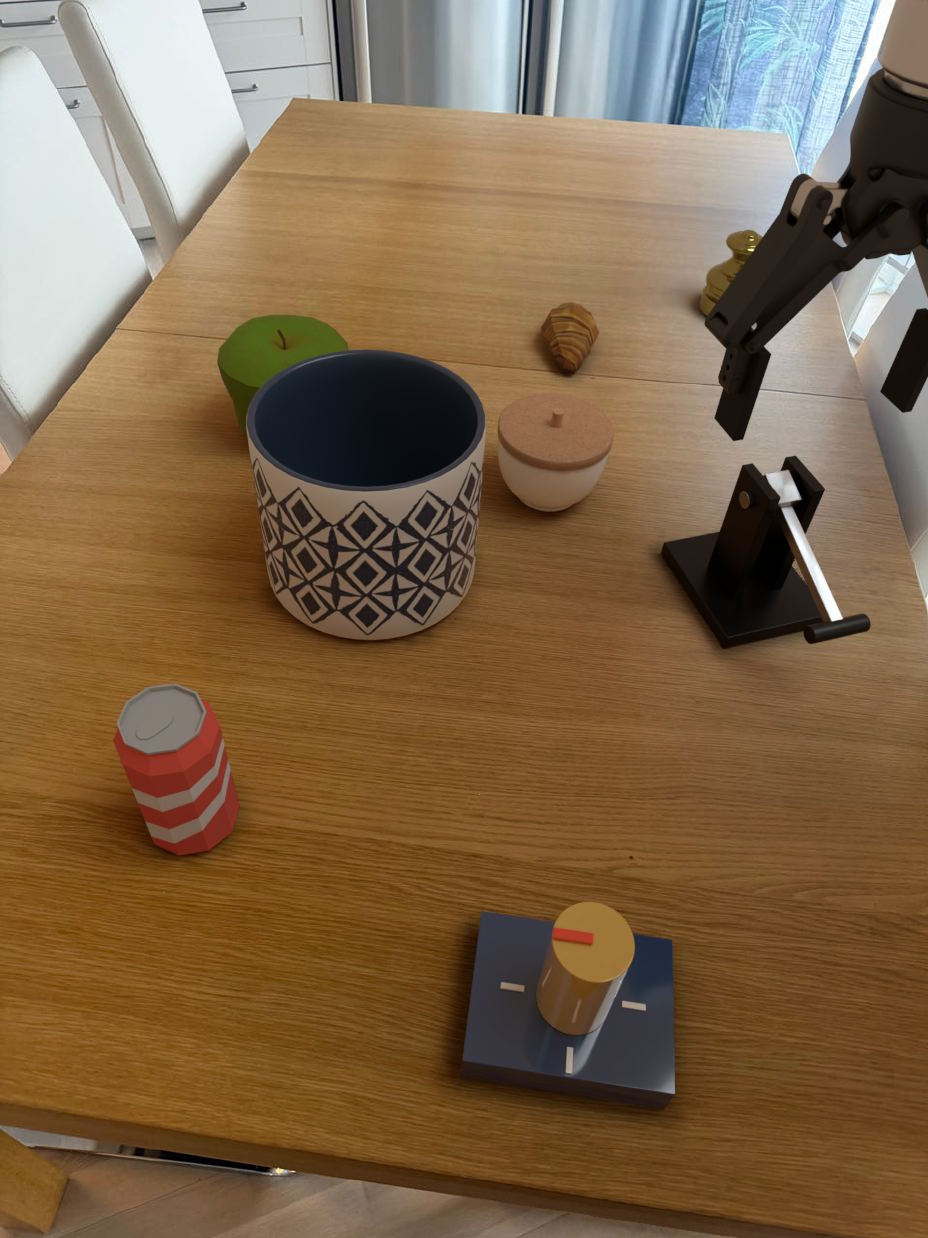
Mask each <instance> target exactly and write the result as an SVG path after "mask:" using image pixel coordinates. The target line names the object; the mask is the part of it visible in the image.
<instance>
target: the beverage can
mask: <svg viewBox="0 0 928 1238" xmlns="http://www.w3.org/2000/svg"><path fill="white" fill-rule="evenodd" d="M116 725H117V728H116V729H117V730H116V731H115V735H114V737H112V738H113V739H112V742H113V744H114V748H115V749H116V752H117V755H118V757H119V759H120V762H121V765H122V767H123V770H124V772H125V774H126V777H127V779H128V782H129V785H130V787H131V789H132V792H133V795H134V797H135V799H136V802H137V805H138V807H139V809H140V812H141V815H142V817H143V819H144V822H145V824H146V827H147V829H148V832H149V834H150V837H151V839H152V842H153V844H154V845H156V847H157V846H158V847H160V848H162V849H164V850H166V851H168V852H170V853H172V854H175V855H177V856H184V855H190V854H196V853H203V852H207V851H208V852H209V851H210V850H212V849H213V848H214V847H215V846H216V845H218V844H219V843H221V841H223V840H224V839H225V838H226V837H228V836H229V835H230V834H231V833H232V832H233V830H234V827H235V825H236V820H237V817H238V814H239V810H240V808H241V805H240V802H239V797H238V793H237V789H236V785H235V780H234V776H233V773H232V769H231V768H232V767H231V764H230V760H229V756H228V752H227V749H226V744H225V741H224V737H223V733H222V728H221V725H220V722H219V720H218V719H217V716H216V715H215V712H214V711H213V708H212V707H211V705H210V702H208V701H206V700H204V699H202V698H201V696H200V695H199V693H198V691H195V690H192V689H190V688H188V687H186V686H183V685H181V684H179V683H176V682H175V683H174V682H173V683H167V684H159V685H152V686H147V687H145V688H144V689H143V690H141V691H140V692H138V693H137V694H135V695H134V696H132V697H131V698H129V699H127V701H125V703H124V706H123V707H122V710H121V712H120V714H119V717H118V719H117V721H116Z"/></svg>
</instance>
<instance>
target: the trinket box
mask: <svg viewBox="0 0 928 1238" xmlns="http://www.w3.org/2000/svg"><path fill="white" fill-rule="evenodd" d="M496 432H497V444H496V445H497V447H496V448H497V449H496V451H497V452H496V453H497V461H498V467H499V472H500V473H501V476H502V479H503V481H504V483H505V484H506V487H508V489H509V490H510V491H511V493H512V494H514V495H515V496H516V497H517V498H518V499H519V500H520V502H522V503H523V504H524V505H526V506H527V507H529V508H532V509H533V510H536V511H542V512H550V513H551V512H559V511H563V510H566V509H569V508H570V507H571V506H573V505H575V504H577V503H579V502H580V501H583V500H584V499H585V498H587V496H589V495H590V494H591V493H592V492H593V490H594V489H595V488H596V486H597V485H598V484H599V482H600V480H601V478H602V476H603V474H604V472H605V469H606V468H607V463H608V461H609V456H610V451H611V449H612V447H613V443H614V439H615V430H614V426H613V423H612V421H611V420H610V418H609V416H607V414H606V412H604V411H603V410H601V408H599V407H598V406H596V405H595V404H593V403H591V402H589V401H587V400H584V399H583V398H580V397H576V396H572V395H569V394H563V393H553V392H551V393H549V392H544V393H533V394H530V395H526V396H523V397H520V398H518V399H515V400H514V401H512V402H511V403H509V404H508V405H507V406H506V407H505V408H504V409H503V410H502V411H501V412H500V415H499V417H498V419H497V431H496Z"/></svg>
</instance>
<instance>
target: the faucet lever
mask: <svg viewBox="0 0 928 1238" xmlns="http://www.w3.org/2000/svg"><path fill="white" fill-rule="evenodd" d="M763 476H764V478H765V479H766V480H767V481H768V482H769V484H770V485H771V486H772V487H773V488H774V490H775V491H776V492H777V493H778V495H779V496H780V497H781V498H780V501H779V503H778V506H777V509H776V511H775V514H774V516H773V517H775V516H776V517H777V519H778V521H779V523H780V526H781V528H782V530H783V532H784V535H785V537H786V539H787V541H788V544H789V546H790V548H791V550H792V553H793V555H794V557H795V561H796V564H797V566H798V569H799V571H800V574H801V575H802V578H803V581H804V582H805V583H806V584H807V586H808V589H809V591H810V593H811V595H812V598H813V600H814V602H815V604H816V607H817V609H818V611H819V613H820V616H821V618H822V620H823V622H822V623H817V624H813V625H808V626H806V627H805V628H804V631H802V633H803V638H804V640H805V641H806V643H807V644H809V645H815V644H819V643H824V642H827V641H832V640H837V639H840V638H845V637H849V636H853V635H857V634H862V633H866V632H868V631H870V629H871V625H872V623H871V620H870V619H871V618H870V617H869V616H868V615H867V614H866V613H863V612H862V613H861V612H860V613H857V614H852V615H848V616H844V617H843V615H842V613H841V611H840V608H839V606H838V603H837V602H836V600H835V597H834V595H833V593H832V591H831V588H830V585H829V584H828V582H827V580H826V578H825V575H824V573H823V570H822V568H821V566H820V564H819V562H818V559H817V558H816V555H815V553H814V551H813V549H812V547H811V544H810V542H809V539H808V537H807V535H805V533H804V531H803V529H802V526H801V524H800V522H799V520H798V518H797V515H796V513H795V511H794V509H793V508H794V507H795V506H796V505H797V504H798V503H799V502H800V501H801V500H802V498H801V496H800V494H799V492H798V489H797V487H796V485H795V483H794V481H793V479H792V476H791V474H790V472H789V470H784V471H780V470H779V471H774V472H769V473H768V472H767V473H764V474H763Z"/></svg>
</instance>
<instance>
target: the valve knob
mask: <svg viewBox="0 0 928 1238" xmlns="http://www.w3.org/2000/svg"><path fill="white" fill-rule="evenodd" d="M554 922H555V924H554V927H553V930H552V934H551V937H550V941H549V944H548V948H547V951H546V955H545V958H544V962H543V965H542V969H541V972H540V976H539V979H538V983H537V987H536V1001H537V1005H538V1008H539V1010H540V1012H541V1014H542V1016H543V1017H544V1019H545V1020H546V1021H547V1022H548V1023H549V1024H550V1025H551V1026H552V1027H554V1028H555V1029H557V1030H559V1031H561V1032H563V1033H566V1034H570V1035H583V1034H587V1033H590V1032H592V1031H594V1030H595V1029H597V1028H598V1027H599V1026H600V1025H601V1024H602V1023H603V1022H604V1020H605V1019H606V1017H607V1015H608V1013H609V1010H610V1008H611V1006H612V1004H613V1002H614V1000H615V997H616V995H617V993H618V991H619V989H620V987H621V984H622V982H623V980H624V978H625V976H626V974H627V971H628V969H629V967H630V965H631V963H632V960H633V957H634V953H635V942H634V937H633V934H634V933H633V931H632V929H631V927H630V925H629V923H628V922H627V920H626V919H625V918H624V916H622V915H621V914H620V913H619V912H618V911H617V910H616V909H614V908H612V907H610V906H608V905H606V904H604V903H601V902H595V901H583V902H577V903H574V904H572V905H570V906H568V907H567V908H565V909H564V910H563V911H562V912H561V913H560V914H559V915H558V916H557V918H556V920H555V921H554Z"/></svg>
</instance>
